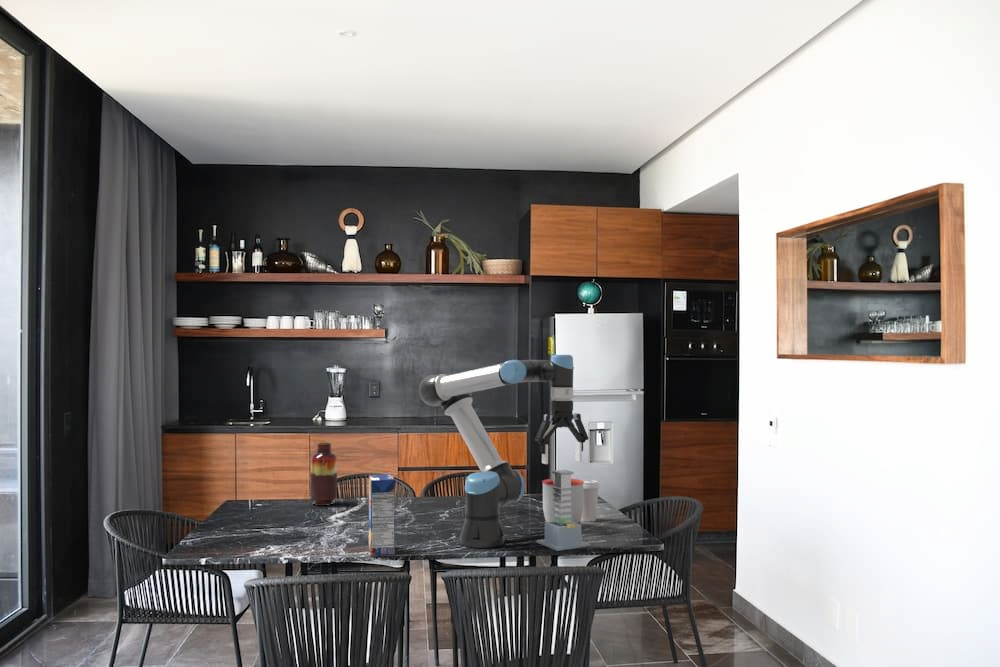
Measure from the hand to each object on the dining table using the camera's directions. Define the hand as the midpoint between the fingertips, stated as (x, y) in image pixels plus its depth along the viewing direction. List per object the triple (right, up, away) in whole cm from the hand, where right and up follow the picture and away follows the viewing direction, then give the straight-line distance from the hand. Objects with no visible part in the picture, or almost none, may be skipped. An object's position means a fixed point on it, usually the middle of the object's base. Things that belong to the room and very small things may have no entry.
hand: (561, 462), depth 262 cm
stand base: (0, -28, -1) cm, 28 cm away
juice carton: (-60, -27, -10) cm, 67 cm away
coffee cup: (+13, -29, +38) cm, 49 cm away
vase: (-97, -30, +70) cm, 123 cm away
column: (0, -21, -1) cm, 21 cm away
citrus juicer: (+2, -29, +26) cm, 39 cm away
